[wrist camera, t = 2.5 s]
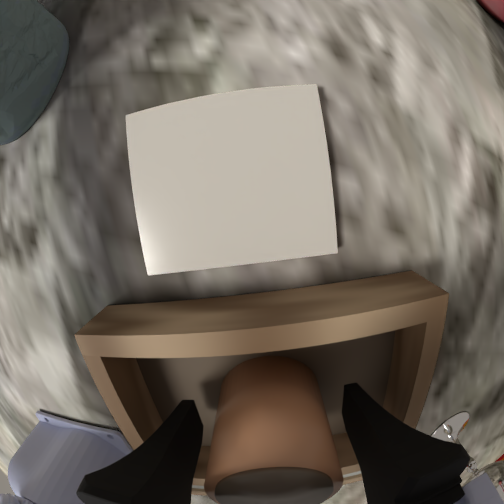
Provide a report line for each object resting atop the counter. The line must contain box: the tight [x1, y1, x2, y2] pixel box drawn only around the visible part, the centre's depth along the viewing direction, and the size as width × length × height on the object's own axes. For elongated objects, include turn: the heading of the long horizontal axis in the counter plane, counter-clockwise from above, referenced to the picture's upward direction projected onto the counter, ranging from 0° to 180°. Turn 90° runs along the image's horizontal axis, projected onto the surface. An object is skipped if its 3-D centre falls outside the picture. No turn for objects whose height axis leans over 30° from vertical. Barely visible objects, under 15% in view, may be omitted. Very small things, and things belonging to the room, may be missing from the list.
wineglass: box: [431, 412, 504, 502], centre depth 9 cm, size 6×6×12 cm
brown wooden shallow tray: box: [75, 270, 449, 486], centre depth 12 cm, size 15×11×3 cm
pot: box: [204, 356, 344, 504], centre depth 10 cm, size 5×5×6 cm
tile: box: [126, 84, 338, 275], centre depth 11 cm, size 8×7×1 cm
